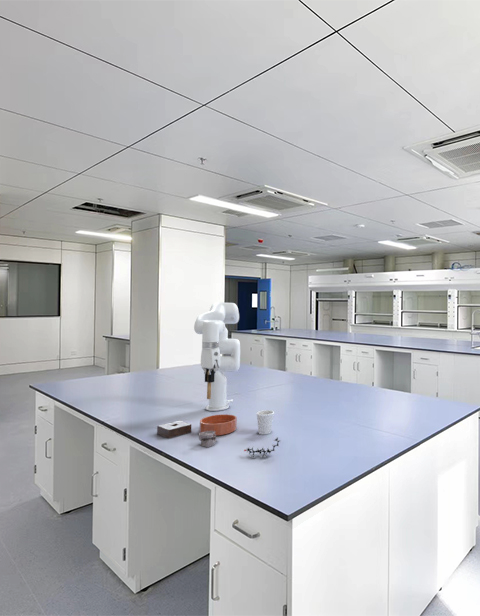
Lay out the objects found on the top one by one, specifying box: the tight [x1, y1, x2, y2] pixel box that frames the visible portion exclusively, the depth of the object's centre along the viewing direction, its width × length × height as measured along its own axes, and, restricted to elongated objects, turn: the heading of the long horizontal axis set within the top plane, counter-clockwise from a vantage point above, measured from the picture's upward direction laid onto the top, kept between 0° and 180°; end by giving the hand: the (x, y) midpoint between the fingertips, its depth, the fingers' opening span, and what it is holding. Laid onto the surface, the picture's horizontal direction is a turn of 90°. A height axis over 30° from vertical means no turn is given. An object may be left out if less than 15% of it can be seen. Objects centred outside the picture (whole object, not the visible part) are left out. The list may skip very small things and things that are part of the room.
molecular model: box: [243, 436, 282, 458], centre depth 157 cm, size 6×15×8 cm, turn 96°
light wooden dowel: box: [206, 371, 211, 400], centre depth 188 cm, size 2×2×14 cm
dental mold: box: [198, 431, 217, 448], centre depth 170 cm, size 8×7×5 cm
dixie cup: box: [255, 409, 275, 435], centre depth 187 cm, size 8×8×10 cm
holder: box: [156, 420, 192, 439], centre depth 182 cm, size 11×11×4 cm
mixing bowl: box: [198, 413, 238, 437], centre depth 187 cm, size 17×17×6 cm
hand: (209, 381), depth 188 cm, fingers closed on light wooden dowel, 1 cm apart
